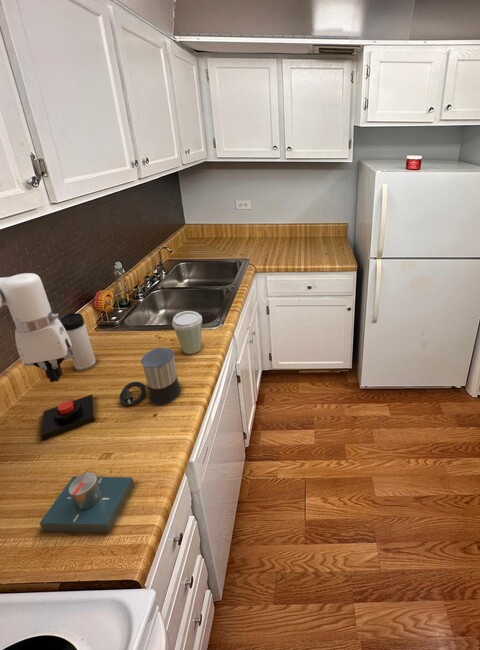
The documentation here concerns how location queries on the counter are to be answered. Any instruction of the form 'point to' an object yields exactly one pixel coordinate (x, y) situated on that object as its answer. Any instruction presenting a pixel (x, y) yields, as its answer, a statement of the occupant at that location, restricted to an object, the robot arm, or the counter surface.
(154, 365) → the milk frother
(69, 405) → the button
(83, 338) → the travel mug
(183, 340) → the disposable coffee cup
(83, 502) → the dial knob
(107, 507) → the dial panel
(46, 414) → the button box
